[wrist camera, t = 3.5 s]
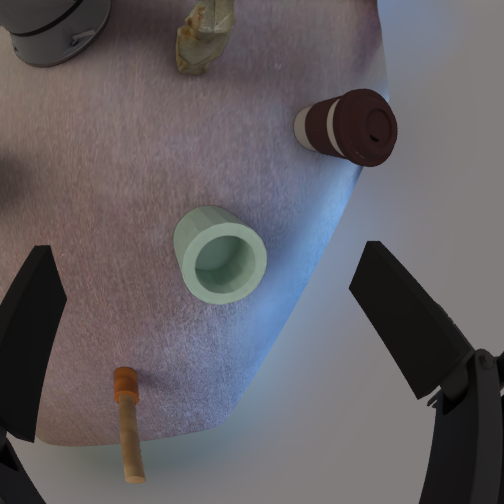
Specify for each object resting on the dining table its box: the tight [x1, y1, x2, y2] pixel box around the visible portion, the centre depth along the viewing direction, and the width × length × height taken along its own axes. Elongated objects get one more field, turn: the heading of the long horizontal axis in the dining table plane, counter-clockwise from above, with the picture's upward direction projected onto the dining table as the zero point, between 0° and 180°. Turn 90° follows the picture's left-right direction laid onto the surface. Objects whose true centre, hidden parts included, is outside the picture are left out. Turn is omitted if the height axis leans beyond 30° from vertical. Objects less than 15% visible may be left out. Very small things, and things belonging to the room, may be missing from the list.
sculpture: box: [175, 0, 235, 74], centre depth 24 cm, size 6×7×15 cm
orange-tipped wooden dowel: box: [114, 367, 146, 484], centre depth 35 cm, size 4×4×22 cm
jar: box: [173, 206, 267, 304], centre depth 37 cm, size 10×10×10 cm
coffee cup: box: [294, 89, 397, 167], centre depth 34 cm, size 10×10×15 cm
